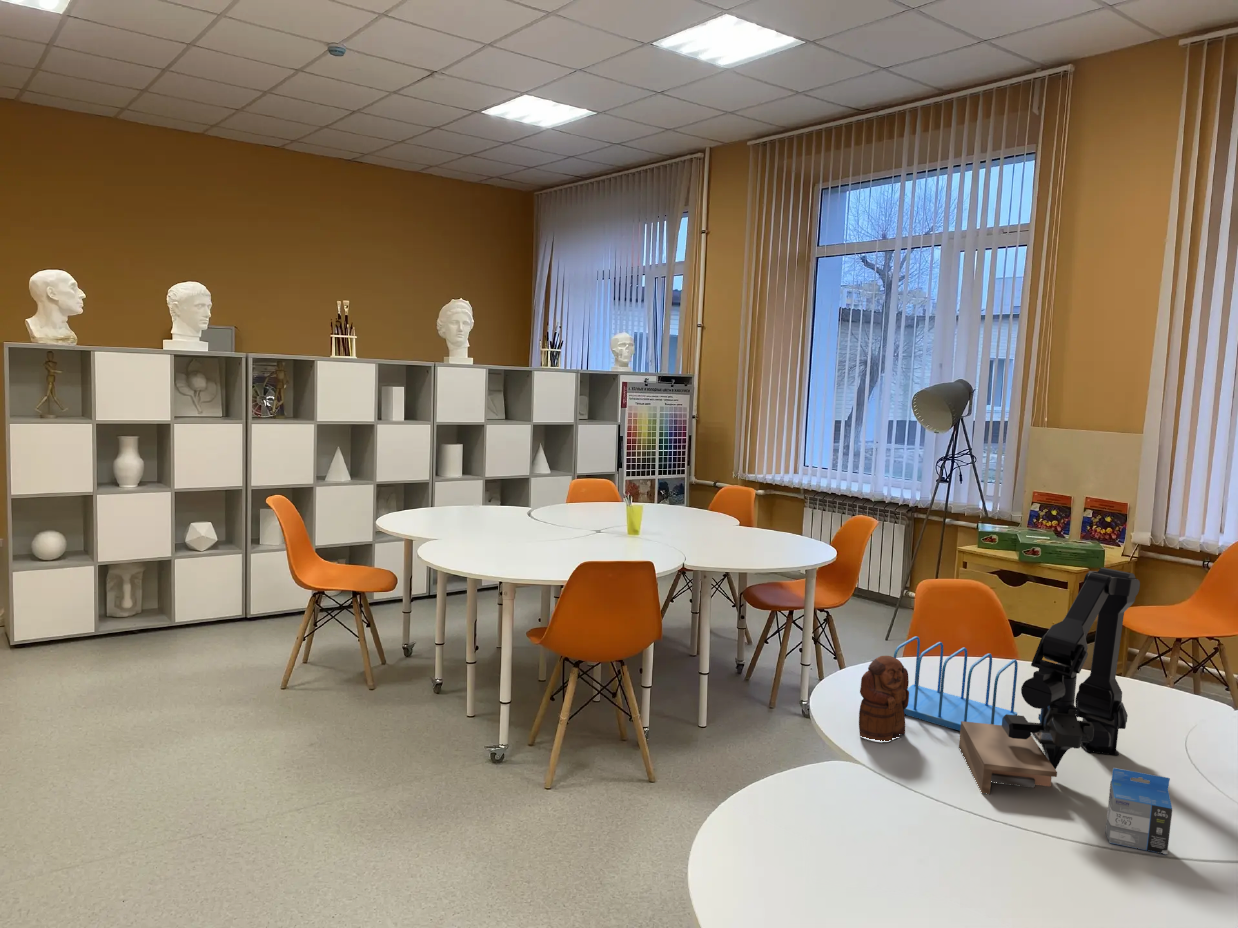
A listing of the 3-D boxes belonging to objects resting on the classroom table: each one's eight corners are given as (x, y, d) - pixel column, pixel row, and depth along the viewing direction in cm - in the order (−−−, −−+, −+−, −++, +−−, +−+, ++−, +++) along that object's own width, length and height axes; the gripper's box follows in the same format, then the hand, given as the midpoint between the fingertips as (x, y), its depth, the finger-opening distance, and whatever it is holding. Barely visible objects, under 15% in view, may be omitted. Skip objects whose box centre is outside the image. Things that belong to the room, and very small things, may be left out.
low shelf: (1023, 754, 180) (1025, 727, 179) (1053, 801, 160) (1057, 771, 159) (958, 747, 182) (961, 720, 181) (981, 793, 162) (984, 763, 162)
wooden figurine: (877, 747, 180) (884, 666, 178) (853, 736, 186) (859, 657, 183) (911, 735, 187) (918, 656, 185) (887, 724, 192) (894, 648, 190)
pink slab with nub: (1039, 769, 173) (1040, 753, 173) (1050, 786, 166) (1052, 769, 166) (977, 762, 175) (979, 746, 175) (986, 778, 168) (987, 762, 168)
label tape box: (1108, 843, 146) (1116, 776, 145) (1104, 831, 150) (1112, 766, 149) (1167, 856, 143) (1176, 787, 142) (1162, 843, 147) (1170, 777, 145)
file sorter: (1017, 720, 198) (1023, 657, 196) (994, 743, 185) (1001, 676, 183) (912, 690, 214) (917, 631, 212) (884, 710, 201) (889, 647, 199)
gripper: (1020, 707, 161) (1013, 785, 163) (1126, 716, 158) (1118, 795, 160) (1004, 686, 172) (998, 759, 174) (1103, 694, 169) (1096, 768, 171)
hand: (1051, 770), depth 169 cm, fingers closed
